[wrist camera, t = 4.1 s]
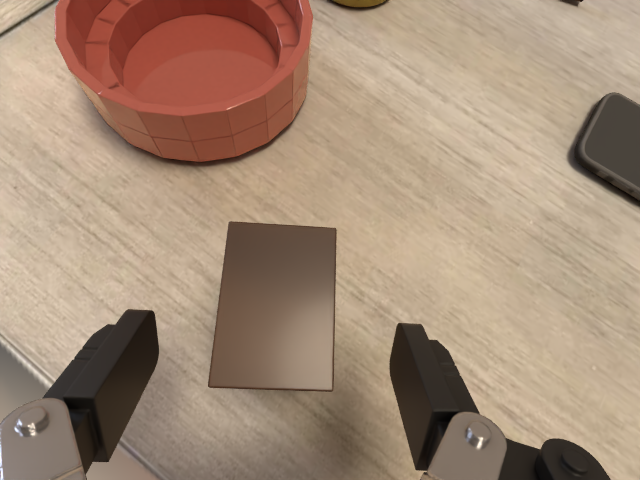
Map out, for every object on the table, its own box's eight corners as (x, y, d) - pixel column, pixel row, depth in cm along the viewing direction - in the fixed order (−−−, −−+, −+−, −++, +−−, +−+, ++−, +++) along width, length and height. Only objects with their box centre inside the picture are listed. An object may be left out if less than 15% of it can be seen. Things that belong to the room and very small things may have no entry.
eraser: (311, 385, 20) (333, 391, 11) (244, 383, 20) (207, 387, 10) (315, 292, 22) (336, 227, 12) (253, 289, 22) (228, 220, 12)
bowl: (147, 203, 23) (112, 157, 18) (66, 41, 26) (19, -32, 22) (345, 113, 26) (358, 56, 22) (249, -19, 30) (242, -92, 25)
